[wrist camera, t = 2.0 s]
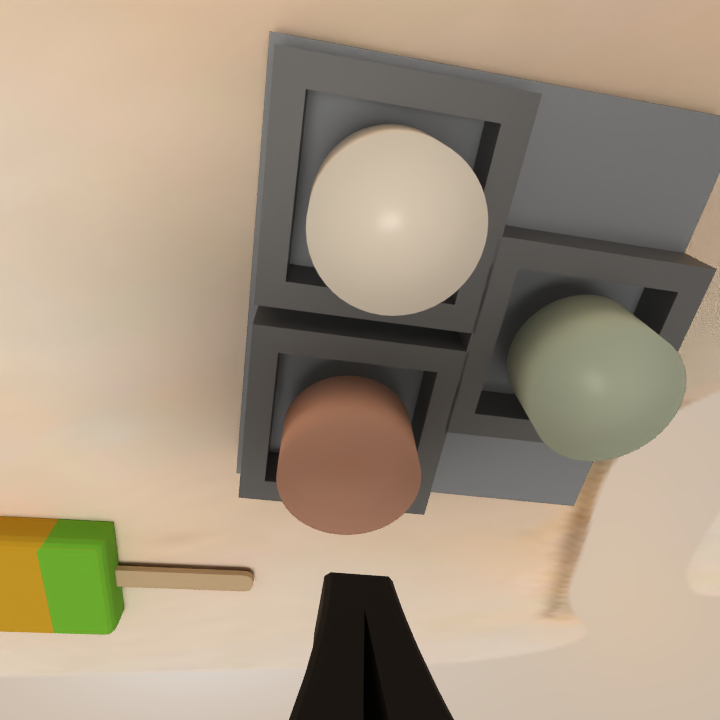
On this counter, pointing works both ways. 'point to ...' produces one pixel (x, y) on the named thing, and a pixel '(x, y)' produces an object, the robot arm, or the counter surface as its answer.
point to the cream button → (395, 220)
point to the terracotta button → (347, 456)
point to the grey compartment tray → (495, 268)
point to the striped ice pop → (80, 576)
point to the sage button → (594, 378)
